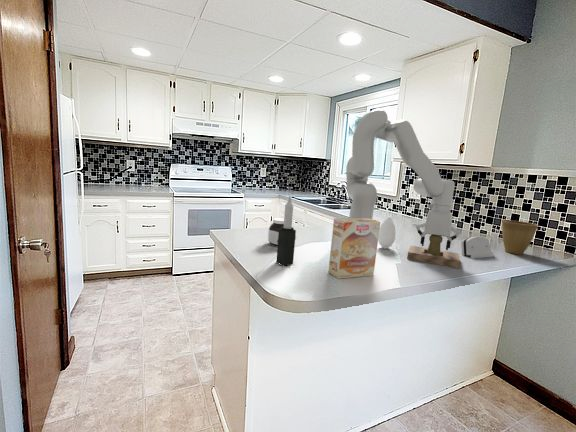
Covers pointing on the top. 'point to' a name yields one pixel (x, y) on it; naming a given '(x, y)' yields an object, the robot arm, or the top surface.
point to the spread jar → (275, 231)
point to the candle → (286, 237)
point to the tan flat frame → (434, 257)
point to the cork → (434, 245)
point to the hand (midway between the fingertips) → (434, 247)
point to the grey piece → (476, 247)
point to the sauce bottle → (387, 233)
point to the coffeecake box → (353, 247)
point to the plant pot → (517, 235)
